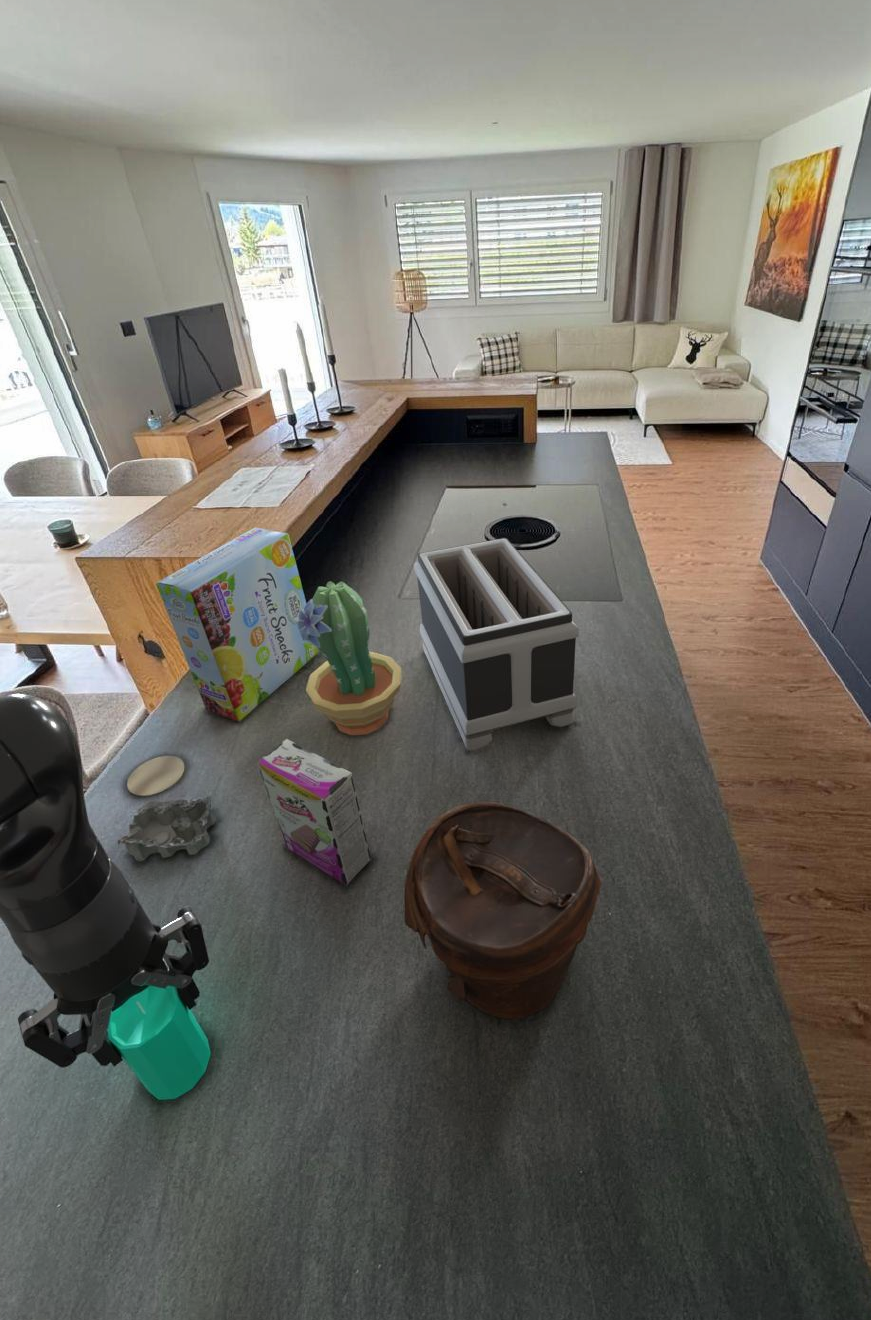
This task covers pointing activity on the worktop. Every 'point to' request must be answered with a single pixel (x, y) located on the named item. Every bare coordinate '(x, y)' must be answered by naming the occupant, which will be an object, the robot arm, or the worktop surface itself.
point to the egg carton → (169, 828)
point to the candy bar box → (316, 810)
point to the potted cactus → (347, 662)
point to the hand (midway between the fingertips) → (153, 1026)
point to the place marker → (155, 776)
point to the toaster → (495, 639)
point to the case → (501, 904)
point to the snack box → (239, 620)
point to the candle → (160, 1041)
